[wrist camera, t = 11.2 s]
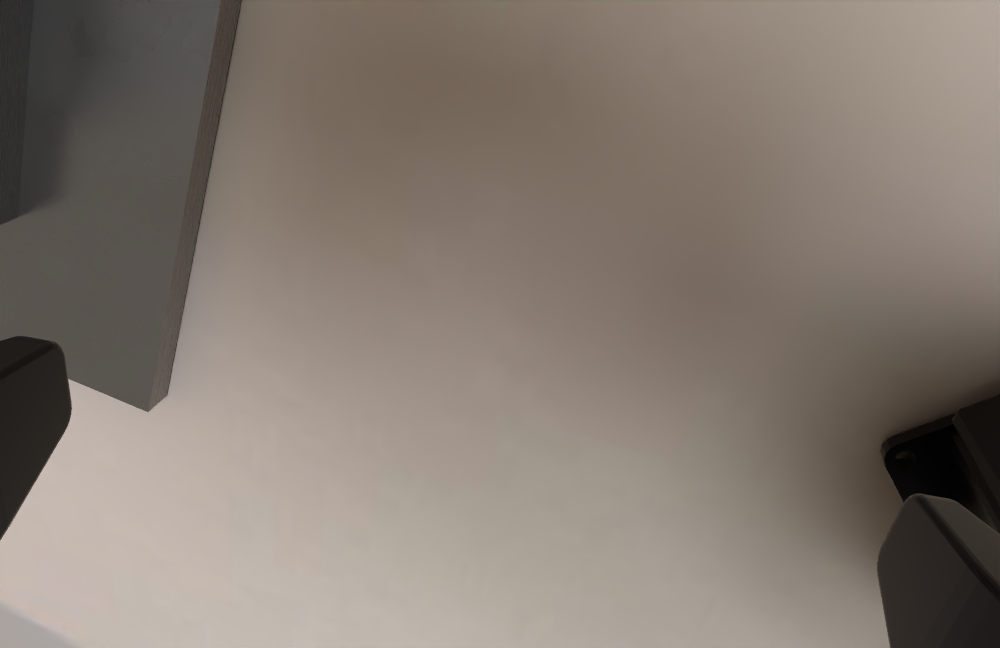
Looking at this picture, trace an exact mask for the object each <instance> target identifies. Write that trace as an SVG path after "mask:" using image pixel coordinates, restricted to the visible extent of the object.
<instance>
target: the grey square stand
mask: <svg viewBox="0 0 1000 648" xmlns="http://www.w3.org/2000/svg"><path fill="white" fill-rule="evenodd" d="M240 4H241V0H0V341H2V340H5V339H8V338H11V337H15V336H27V337H32V338H38V339H44V340H49V341H54V342H56V343H57V344H59V345H60V346H61V348H62V350H63V351H64V355H65V360H66V368H67V375H68V379H70V380H73V381H75V382H78V383H80V384H82V385H85V386H87V387H90V388H92V389H94V390H97V391H99V392H101V393H104V394H106V395H109V396H111V397H113V398H116V399H118V400H121V401H123V402H125V403H128V404H130V405H133V406H135V407H137V408H140V409H142V410H144V411H147V412H149V411H150V410H151V409H152V408H153V407H154V406H156V405H157V404H158V403H159V402H160V401H161V400H162V399H163V398H165V397H166V396H167V392H168V386H169V381H170V376H171V371H172V365H173V360H174V355H175V349H176V344H177V339H178V333H179V328H180V323H181V317H182V312H183V307H184V302H185V296H186V291H187V286H188V280H189V275H190V270H191V264H192V259H193V254H194V248H195V243H196V238H197V232H198V227H199V222H200V217H201V211H202V206H203V201H204V195H205V190H206V185H207V179H208V174H209V169H210V163H211V158H212V153H213V148H214V142H215V137H216V132H217V126H218V121H219V116H220V110H221V105H222V100H223V94H224V89H225V84H226V78H227V73H228V68H229V63H230V57H231V52H232V47H233V41H234V36H235V31H236V25H237V20H238V15H239V9H240Z"/></svg>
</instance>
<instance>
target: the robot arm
mask: <svg viewBox="0 0 1000 648" xmlns="http://www.w3.org/2000/svg"><path fill="white" fill-rule="evenodd" d="M71 409H72V407H71V397H70V390H69V382H68V375H67V368H66V360H65V355H64V351H63V350H62V348H61V346H60V345H59V344H57V343H56V342H54V341H49V340H44V339H38V338H32V337H27V336H15V337H11V338H8V339H5V340H2V341H0V540H1V539H2V537H3V535H4V534H5V532H6V531H7V529H8V527H9V526H10V524H11V522H12V521H13V519H14V517H15V516H16V514H17V512H18V510H19V509H20V507H21V505H22V504H23V502H24V500H25V499H26V497H27V495H28V493H29V492H30V490H31V488H32V487H33V485H34V483H35V482H36V480H37V478H38V476H39V475H40V473H41V471H42V470H43V468H44V466H45V464H46V463H47V461H48V459H49V458H50V456H51V454H52V453H53V451H54V449H55V447H56V446H57V444H58V442H59V441H60V439H61V437H62V436H63V434H64V432H65V430H66V428H67V426H68V424H69V421H70V417H71ZM903 451H909V452H912V453H911V455H910V456H909V457H907V458H905V459H897V458H895V456H896V455H897V454H898V453H900V452H903ZM880 452H881V456H882V459H883V462H884V464H885V467H886V469H887V471H888V473H889V475H890V476H891V478H892V480H893V482H894V484H895V486H896V488H897V490H898V492H899V494H900V496H901V497H902V499H903V501H904V503H903V505H902V507H901V509H900V511H899V513H898V515H897V517H896V519H895V521H894V523H893V525H892V527H891V529H890V531H889V533H888V535H887V537H886V539H885V541H884V543H883V545H882V547H881V549H880V552H879V556H878V562H877V572H878V579H879V585H880V591H881V597H882V603H883V609H884V614H885V620H886V626H887V632H888V638H889V644H890V648H1000V395H998V396H995V397H993V398H990V399H987V400H984V401H982V402H979V403H976V404H973V405H971V406H968V407H965V408H962V409H960V410H959V411H958V412H957V413H955V414H953V415H950V416H947V417H944V418H941V419H939V420H936V421H933V422H930V423H928V424H925V425H922V426H919V427H917V428H914V429H911V430H908V431H906V432H903V433H900V434H897V435H894V436H892V437H891V438H889V439H887V440H886V441H885V442H884V443H883V445H882V447H881V451H880Z"/></svg>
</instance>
